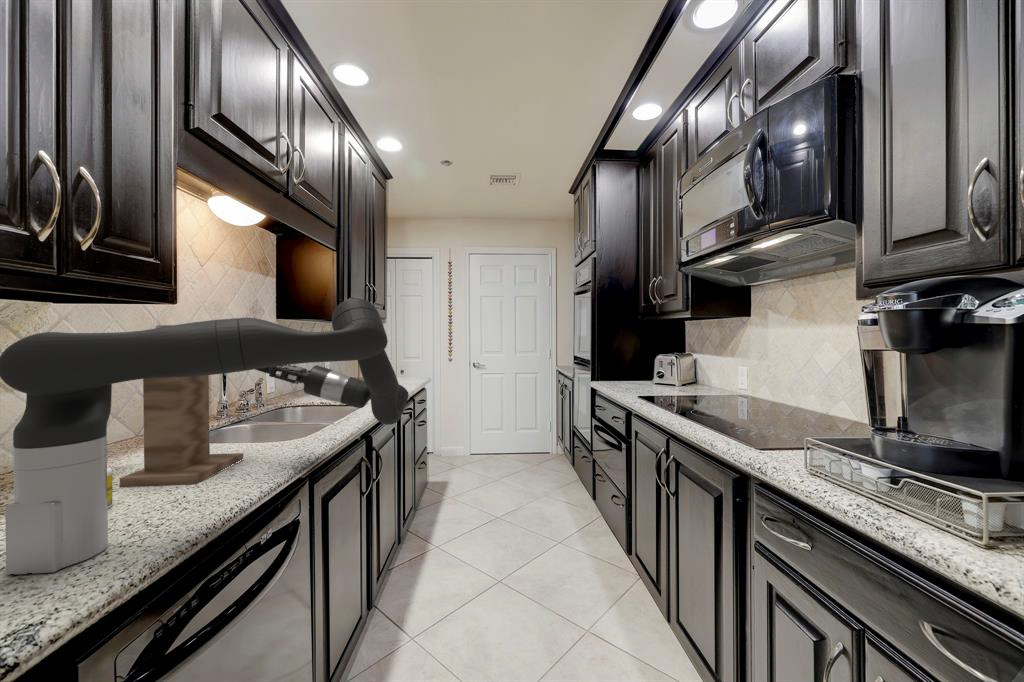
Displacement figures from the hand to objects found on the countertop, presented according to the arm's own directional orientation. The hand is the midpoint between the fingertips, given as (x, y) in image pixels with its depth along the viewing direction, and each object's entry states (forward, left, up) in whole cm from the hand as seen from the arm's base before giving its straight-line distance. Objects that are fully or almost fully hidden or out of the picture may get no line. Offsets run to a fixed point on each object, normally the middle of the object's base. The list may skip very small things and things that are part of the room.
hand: (263, 364), depth 101 cm
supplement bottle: (-23, +20, -26) cm, 40 cm away
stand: (-1, +18, -26) cm, 32 cm away
